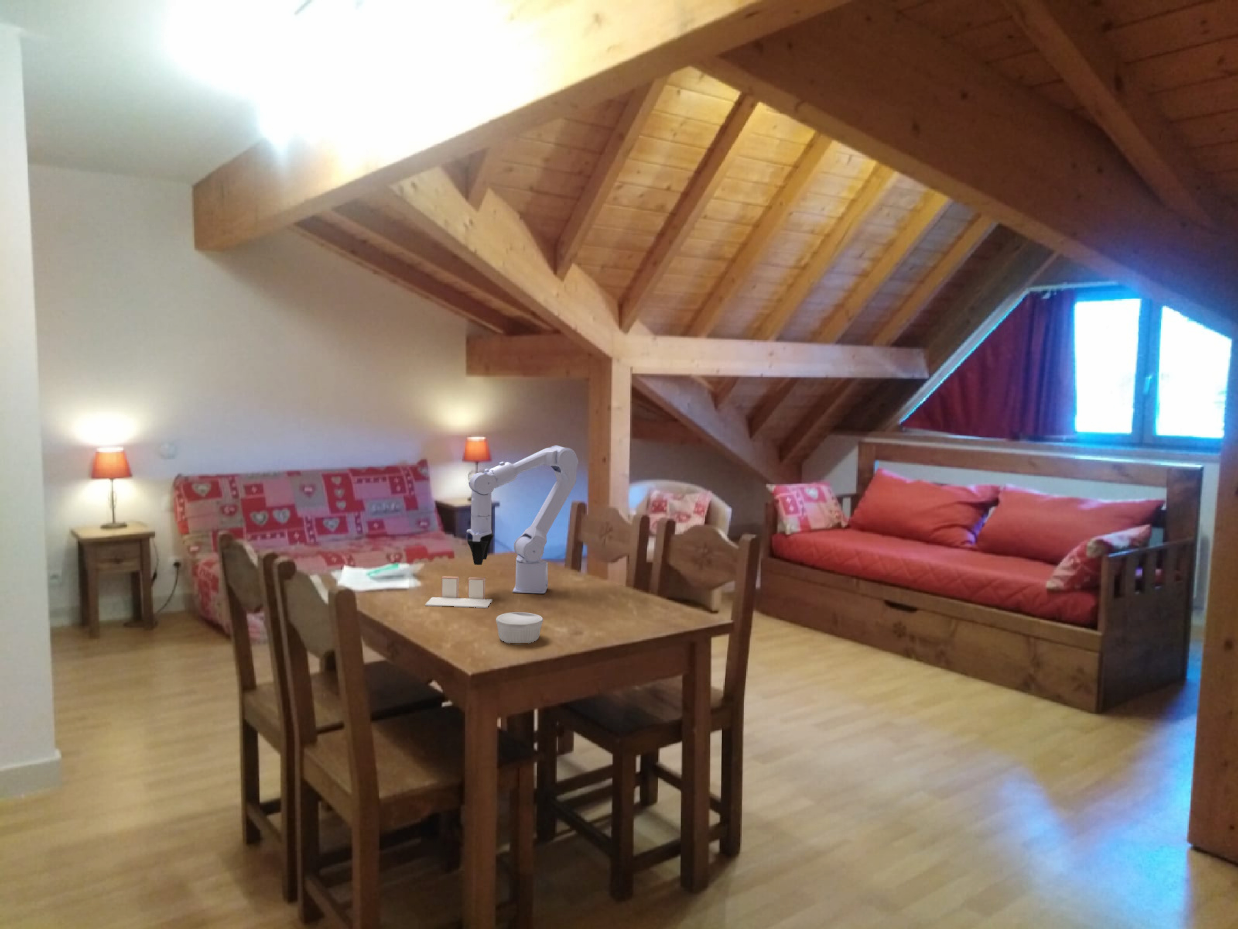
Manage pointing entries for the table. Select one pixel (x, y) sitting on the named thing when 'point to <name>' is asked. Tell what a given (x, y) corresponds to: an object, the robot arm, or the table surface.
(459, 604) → the felt mat
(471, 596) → the tile
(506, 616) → the ramekin
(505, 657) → the table surface
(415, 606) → the table surface
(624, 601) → the table surface
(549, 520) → the robot arm
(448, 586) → the tile
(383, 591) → the table surface
